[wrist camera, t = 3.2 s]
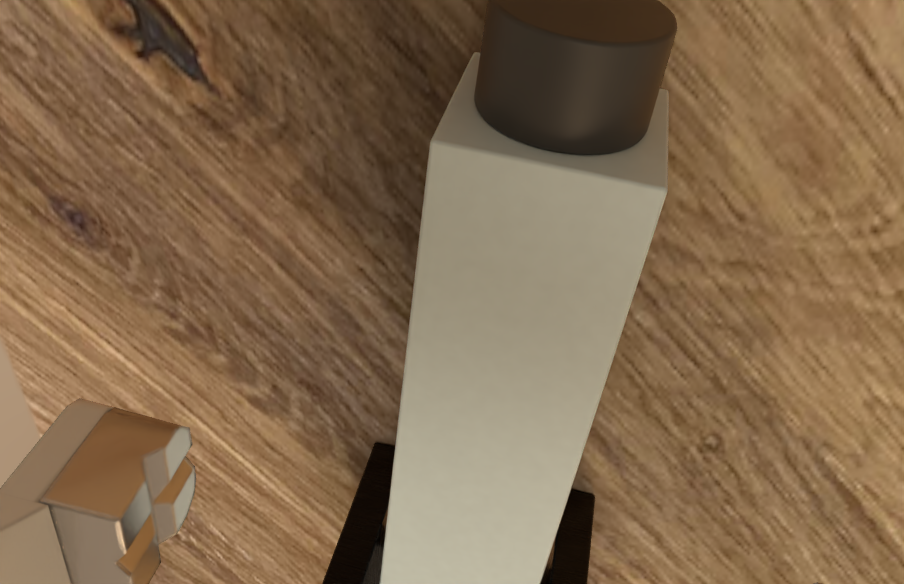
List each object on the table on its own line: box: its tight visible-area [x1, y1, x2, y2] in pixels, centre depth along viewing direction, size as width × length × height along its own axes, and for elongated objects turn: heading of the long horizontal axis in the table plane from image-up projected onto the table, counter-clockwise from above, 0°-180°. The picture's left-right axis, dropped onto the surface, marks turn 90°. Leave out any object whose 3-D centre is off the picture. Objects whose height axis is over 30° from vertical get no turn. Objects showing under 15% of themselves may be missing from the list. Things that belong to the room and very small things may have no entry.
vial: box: [380, 0, 677, 584], centre depth 19 cm, size 16×4×4 cm, turn 173°
